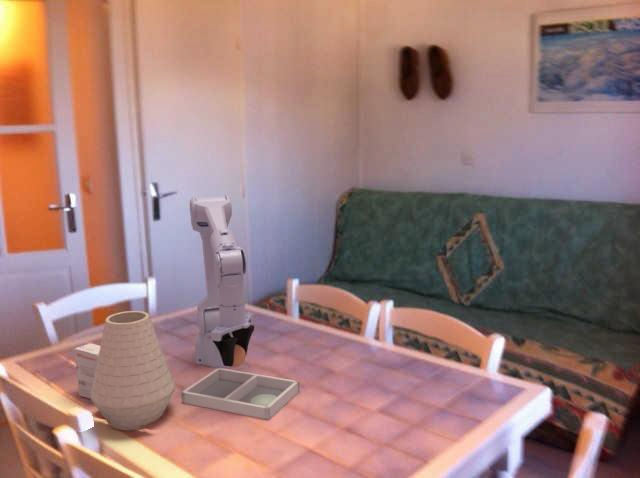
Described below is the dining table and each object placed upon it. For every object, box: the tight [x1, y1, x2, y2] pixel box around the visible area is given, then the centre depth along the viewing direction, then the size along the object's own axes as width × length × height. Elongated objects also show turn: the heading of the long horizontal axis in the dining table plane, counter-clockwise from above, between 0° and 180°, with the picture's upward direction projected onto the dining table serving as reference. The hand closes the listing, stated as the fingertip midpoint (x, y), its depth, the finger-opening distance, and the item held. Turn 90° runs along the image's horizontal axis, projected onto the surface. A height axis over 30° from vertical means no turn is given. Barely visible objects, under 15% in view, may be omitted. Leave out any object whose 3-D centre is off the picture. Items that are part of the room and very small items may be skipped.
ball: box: [231, 345, 247, 368], centre depth 147 cm, size 5×5×5 cm
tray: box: [181, 367, 300, 421], centre depth 148 cm, size 22×15×4 cm
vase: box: [90, 310, 176, 432], centre depth 139 cm, size 17×17×23 cm
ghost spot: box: [250, 394, 277, 406], centre depth 146 cm, size 6×6×1 cm
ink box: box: [73, 342, 100, 400], centre depth 152 cm, size 9×5×12 cm, turn 58°
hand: (234, 361), depth 147 cm, fingers closed on ball, 5 cm apart
